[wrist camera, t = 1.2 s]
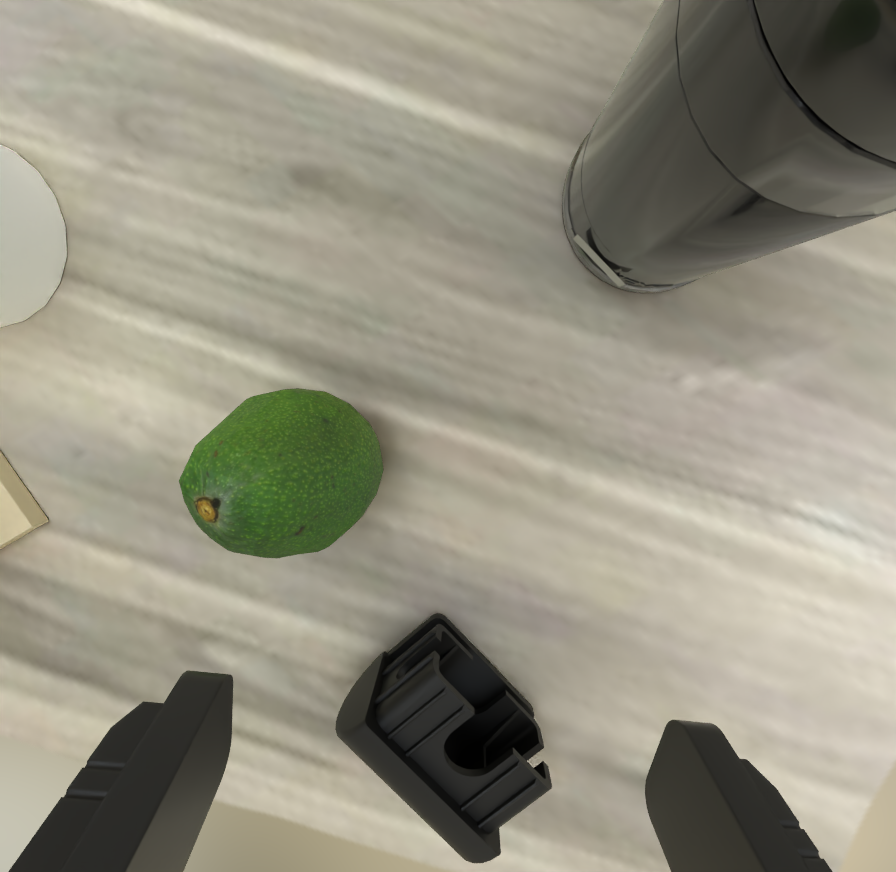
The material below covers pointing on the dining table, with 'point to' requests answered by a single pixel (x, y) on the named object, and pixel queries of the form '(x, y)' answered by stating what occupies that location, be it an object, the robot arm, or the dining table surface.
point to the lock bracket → (16, 506)
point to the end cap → (447, 736)
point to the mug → (27, 240)
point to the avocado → (283, 474)
